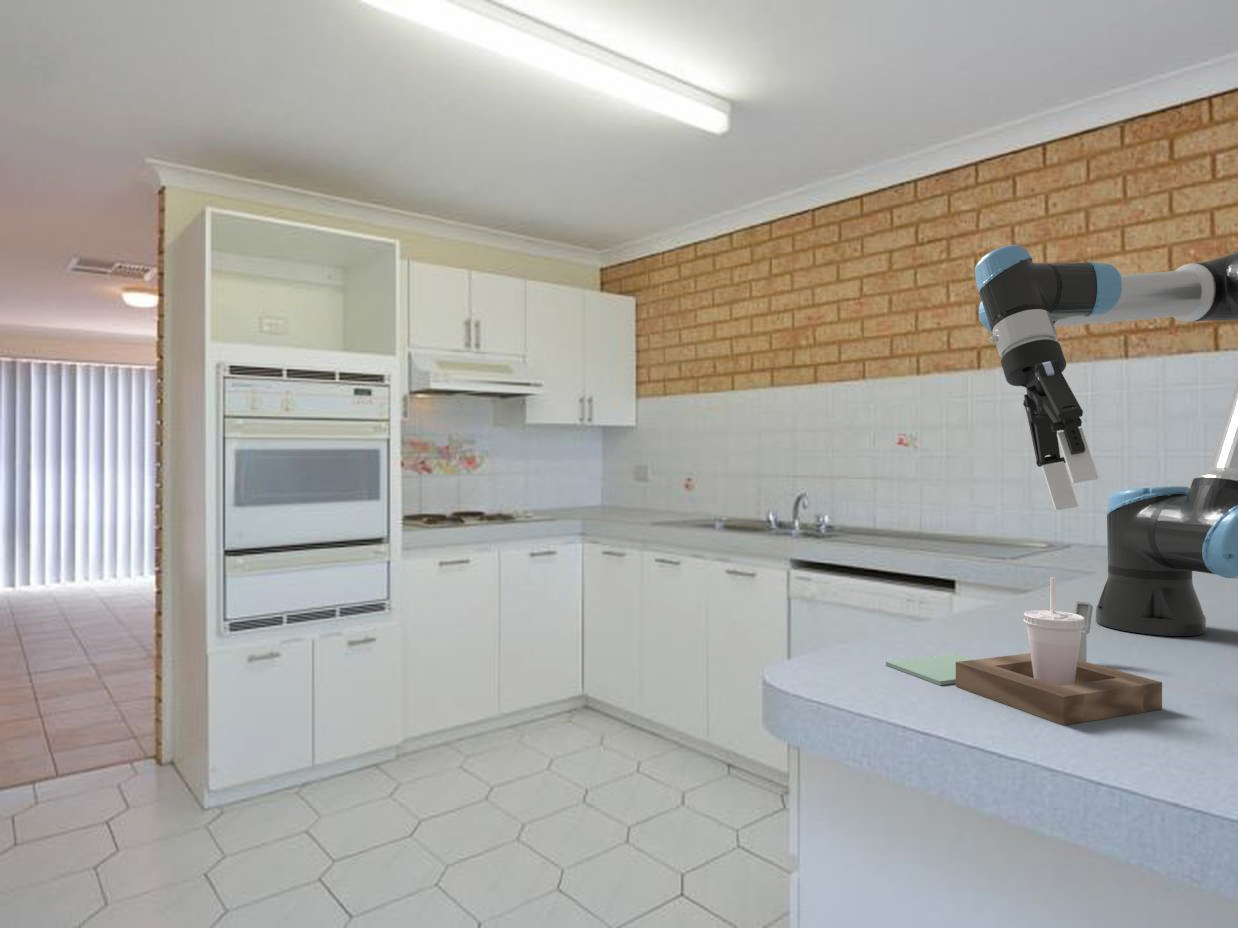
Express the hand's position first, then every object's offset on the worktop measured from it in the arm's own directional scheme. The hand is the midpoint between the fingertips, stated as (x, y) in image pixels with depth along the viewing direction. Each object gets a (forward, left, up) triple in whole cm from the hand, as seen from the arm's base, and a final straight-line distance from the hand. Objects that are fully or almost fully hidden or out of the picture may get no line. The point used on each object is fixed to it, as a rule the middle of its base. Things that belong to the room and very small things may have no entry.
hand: (1075, 495), depth 100 cm
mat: (+13, -8, -23) cm, 28 cm away
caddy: (+10, +6, -23) cm, 26 cm away
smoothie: (+10, +6, -24) cm, 26 cm away
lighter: (-7, -5, -24) cm, 25 cm away
